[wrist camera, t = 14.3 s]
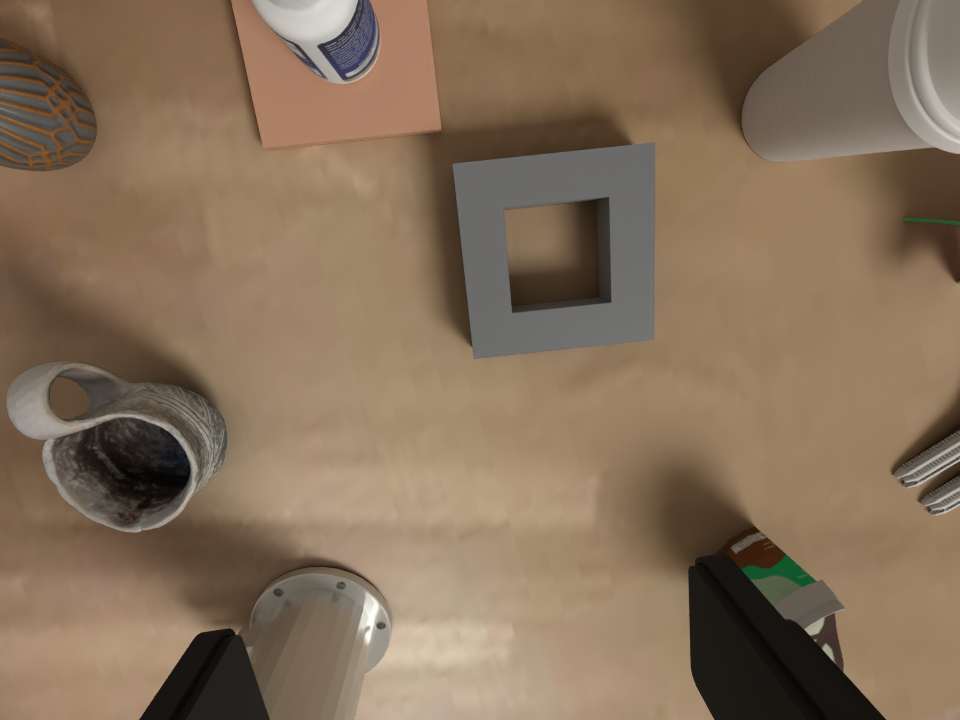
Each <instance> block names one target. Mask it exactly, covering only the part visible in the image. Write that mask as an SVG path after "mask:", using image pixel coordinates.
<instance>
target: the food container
mask: <svg viewBox="0 0 960 720" xmlns="http://www.w3.org/2000/svg"><path fill="white" fill-rule="evenodd" d="M723 553H725V554H727V555H728V556H729V557H731V558H732V560H733V561H734V562H735V563H736V564H737V565H738V566H739V567H740V569H741V570H742V571H743V572H744V573H745V574H746V575H747V577H748V578H749V579H750V580H751V581H752V582H753V583H754V585H755V586H756V587H757V588H758V589H759V590H760V591H761V593H762V594H763V595H764V596H765V597H766V598H767V599H768V600H769V602H770V603H771V604H772V605H773V606H774V607H775V608H776V610H777V611H778V612H779V613H780V614H781V615H782V616H783V618H784V619H791V620H793V621H795V622H797V623H798V624H799V625H800V626H801V627H802V628H803V629H804V630H805V631H806V632H807V633H808V634H809V635H810V636H811V637H812V638H813V640H814V641H815V642H816V643H817V644H818V645H819V646H820V647H821V648H822V649H823V651H824V652H825V653H826V654H827V655H828V656H829V657H830V658H831V659H832V661H833V662H834V663H835V664H836V665H837V666H838V667H839V668H840V669H841V670H842V672H843V666H844V664H843V658H842V653H841V649H840V645H839V640H838V635H837V630H836V621H835V612H838V611H841V610H844V609H846V608H845V607H844V606H843V605H842V604H841V603H840V602H839V601H838V598H837V596H836V595H835V594H834V593H833V592H832V591H831V590H830V588H829V587H828V586H827V585H826V584H825V583H824V582H823V580H820V581H815V580H814V579H813V578H812V577H811V576H810V575H809V574H808V573H807V572H805V571H804V570H803V569H802V568H801V567H800V566H799V565H798V564H796V563H795V562H794V561H793V560H792V559H791V558H790V557H789V556H787V555H786V554H785V553H784V552H783V551H782V550H781V549H780V548H778V547H777V546H776V545H775V544H774V543H773V542H772V541H771V540H769V539H768V538H767V537H766V536H765V535H764V534H763V533H762V532H761V531H759V530H758V529H757V528H756V527H754V528H751V529H749V530H746V531H743V532H741V533H740V534H738V535H737V536H735V537H733V538H732V539H730V540H729V541H728V542H727V543H726V544H725V545H724V546H723V547H722V548H721V549H720V550H719V551H718V552H717V554H723ZM717 554H716V555H717Z"/></svg>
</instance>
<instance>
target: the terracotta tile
mask: <svg viewBox="0 0 960 720" xmlns="http://www.w3.org/2000/svg"><path fill="white" fill-rule="evenodd" d="M231 2H232V6H233V11H234V16H235V20H236V25H237V30H238V34H239V39H240V43H241V48H242V53H243V57H244V62H245V67H246V71H247V76H248V81H249V85H250V90H251V95H252V99H253V104H254V108H255V113H256V118H257V122H258V127H259V132H260V136H261V141H262V146H263V148H264V149H267V150H274V149H283V148H293V147H302V146H312V145H321V144H331V143H340V142H350V141H359V140H369V139H379V138H388V137H398V136H407V135H417V134H426V133H436V132H442V126H441V117H440V109H439V100H438V91H437V82H436V73H435V65H434V56H433V47H432V38H431V29H430V20H429V12H428V3H427V0H370V2H371V5H372V7H373V10H374V12H375V14H376V17H377V20H378V24H379V28H380V34H381V46H380V52H379V56H378V59H377V61H376V63H375V65H374V66H373V68H372V69H371V71H370V72H369V73H368V74H367V75H366V76H364V77H363V78H361V79H360V80H358V81H355V82H352V83H348V84H335V83H331V82H328V81H325V80H323V79H321V78H320V77H318V76H317V75H315V74H314V73H313V72H312V71H311V70H310V69H309V68H308V67H307V66H306V65H305V64H304V63H303V62H302V61H301V60H300V59H299V58H298V57H297V56H296V55H295V54H294V53H293V52H292V50H291V49H290V48H289V47H288V46H287V45H286V44H285V43H284V42H283V41H282V40H281V39H280V38H279V36H278V35H277V34H276V33H275V32H274V31H273V30H272V29H271V28H270V27H269V26H268V25H267V23H266V22H265V21H264V20H263V18H262V17H261V16H260V14H259V13H258V11H257V10H256V8H255V6H254V4H253V3H252V0H231Z"/></svg>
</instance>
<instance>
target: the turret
mask: <svg viewBox="0 0 960 720" xmlns="http://www.w3.org/2000/svg"><path fill="white" fill-rule="evenodd" d="M959 461H960V430H959V431H957V432H955V433H954V434H952V435H951V436H949V437H947V438H946V439H944V440H942V441H941V442H939V443H938V444H936V445H934V446H933V447H931V448H929V449H928V450H926V451H924V452H923V453H921V454H920V455H918V456H916V457H915V458H913V459H911V460H910V461H908V462H907V463H905V464H903V465H902V466H901V467H899V468H898V469H897V470H896V471H895V473H894V474H893V475H895V477H896V478H900V479H902V480H904V483H903V486H905V487H906V488H910V487H914V486H918V485H920V484H922V483H923V482H925V481H927V480H929V479H930V478H932V477H934V476H935V475H937V474H939V473H940V472H942V471H944V470H946V469H947V468H949V467H951V466H952V465H954V464H956V463H957V462H959ZM920 503H922V505H923V506H927V507H929V508H930V509H931V510H930V511H929V513H930V514H933V516H936V515H940V514H945V513H947V512H948V511H950V510H952V509H954V508H956V507H957V506H959V505H960V476H958V477H956V478H954V479H953V480H951V481H949V482H948V483H946V484H944V485H942V486H941V487H939V488H937V489H935V490H934V491H932V492H930V493H929V494H927V495H926V496H925V497H924V498H923V499H922V500H921V501H920ZM944 510H945V511H944Z"/></svg>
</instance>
